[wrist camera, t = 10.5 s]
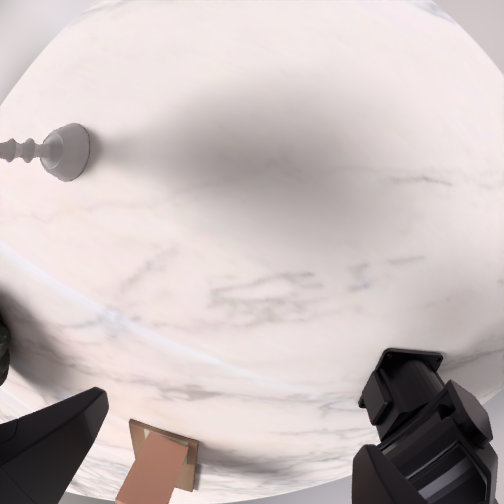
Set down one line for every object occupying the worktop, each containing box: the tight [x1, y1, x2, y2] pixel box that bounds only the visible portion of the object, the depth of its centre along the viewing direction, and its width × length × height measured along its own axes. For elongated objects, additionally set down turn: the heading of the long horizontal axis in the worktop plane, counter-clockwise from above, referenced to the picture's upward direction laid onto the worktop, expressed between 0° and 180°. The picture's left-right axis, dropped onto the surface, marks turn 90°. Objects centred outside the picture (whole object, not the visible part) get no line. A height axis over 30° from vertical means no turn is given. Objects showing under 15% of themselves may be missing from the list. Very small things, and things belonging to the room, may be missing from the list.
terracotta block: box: [115, 431, 189, 504], centre depth 20 cm, size 4×4×10 cm
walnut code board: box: [129, 419, 198, 492], centre depth 27 cm, size 8×14×1 cm, turn 169°
